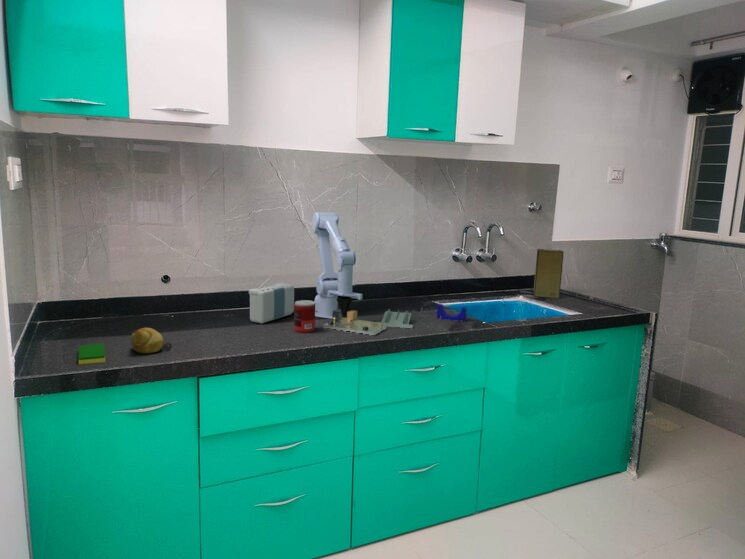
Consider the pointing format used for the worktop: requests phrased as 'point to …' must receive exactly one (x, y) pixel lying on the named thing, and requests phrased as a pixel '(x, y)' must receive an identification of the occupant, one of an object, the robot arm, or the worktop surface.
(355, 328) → the plate
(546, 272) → the food packaging
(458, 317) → the cable clip
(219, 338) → the worktop surface
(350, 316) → the block
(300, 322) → the canned food
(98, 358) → the dish sponge
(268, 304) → the stereo radio cassette player
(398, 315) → the metal bracket
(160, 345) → the bread roll
